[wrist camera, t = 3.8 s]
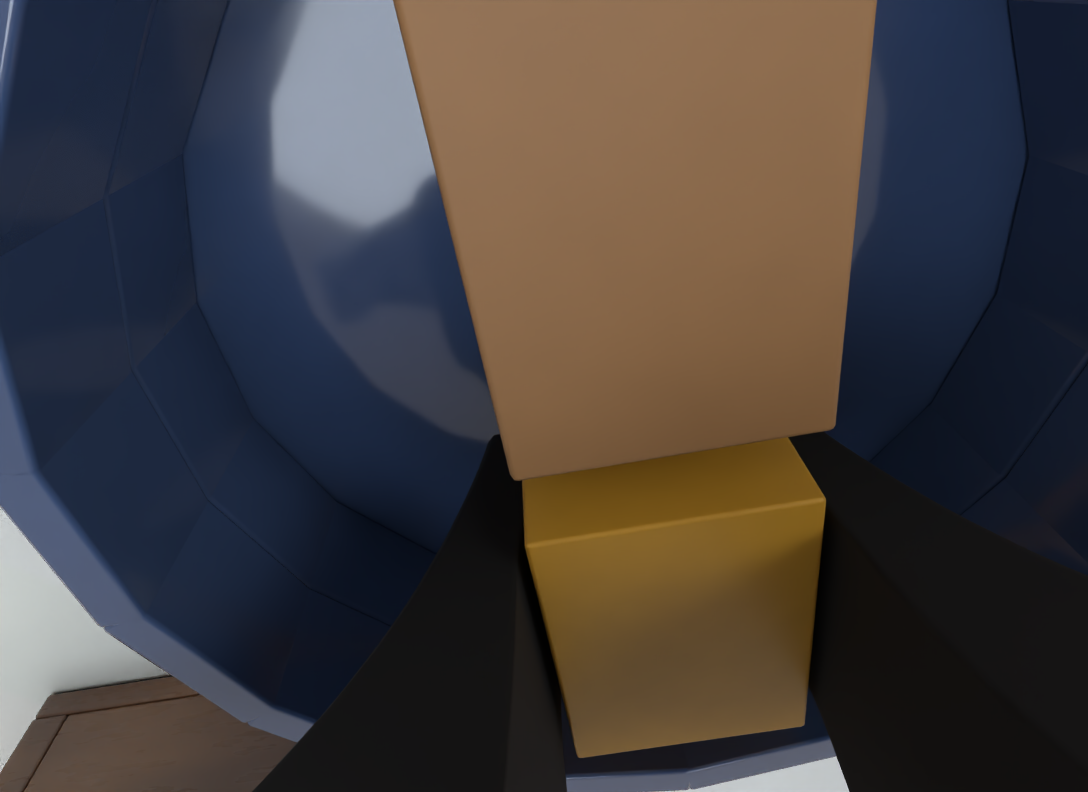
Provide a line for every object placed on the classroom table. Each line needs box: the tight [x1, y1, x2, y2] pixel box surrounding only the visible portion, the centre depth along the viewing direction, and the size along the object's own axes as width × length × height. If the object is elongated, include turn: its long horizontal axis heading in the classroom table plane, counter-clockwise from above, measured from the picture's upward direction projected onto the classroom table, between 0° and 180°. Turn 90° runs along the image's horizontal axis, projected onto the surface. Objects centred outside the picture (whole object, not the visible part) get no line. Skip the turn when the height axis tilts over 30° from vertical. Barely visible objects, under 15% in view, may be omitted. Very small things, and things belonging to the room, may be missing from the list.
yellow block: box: [522, 437, 826, 758], centre depth 9 cm, size 3×4×4 cm
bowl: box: [0, 0, 1088, 792], centre depth 9 cm, size 13×13×4 cm
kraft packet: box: [393, 0, 877, 481], centre depth 7 cm, size 3×4×4 cm
